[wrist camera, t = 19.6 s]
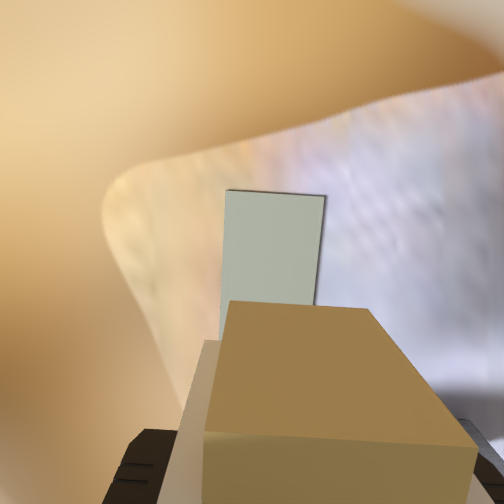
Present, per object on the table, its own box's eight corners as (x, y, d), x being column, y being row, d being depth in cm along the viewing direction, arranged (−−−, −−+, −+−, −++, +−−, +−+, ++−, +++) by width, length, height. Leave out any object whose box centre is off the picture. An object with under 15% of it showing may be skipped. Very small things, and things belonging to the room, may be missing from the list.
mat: (302, 391, 34) (303, 393, 33) (217, 385, 34) (216, 387, 33) (323, 196, 29) (324, 196, 29) (226, 190, 29) (225, 190, 29)
